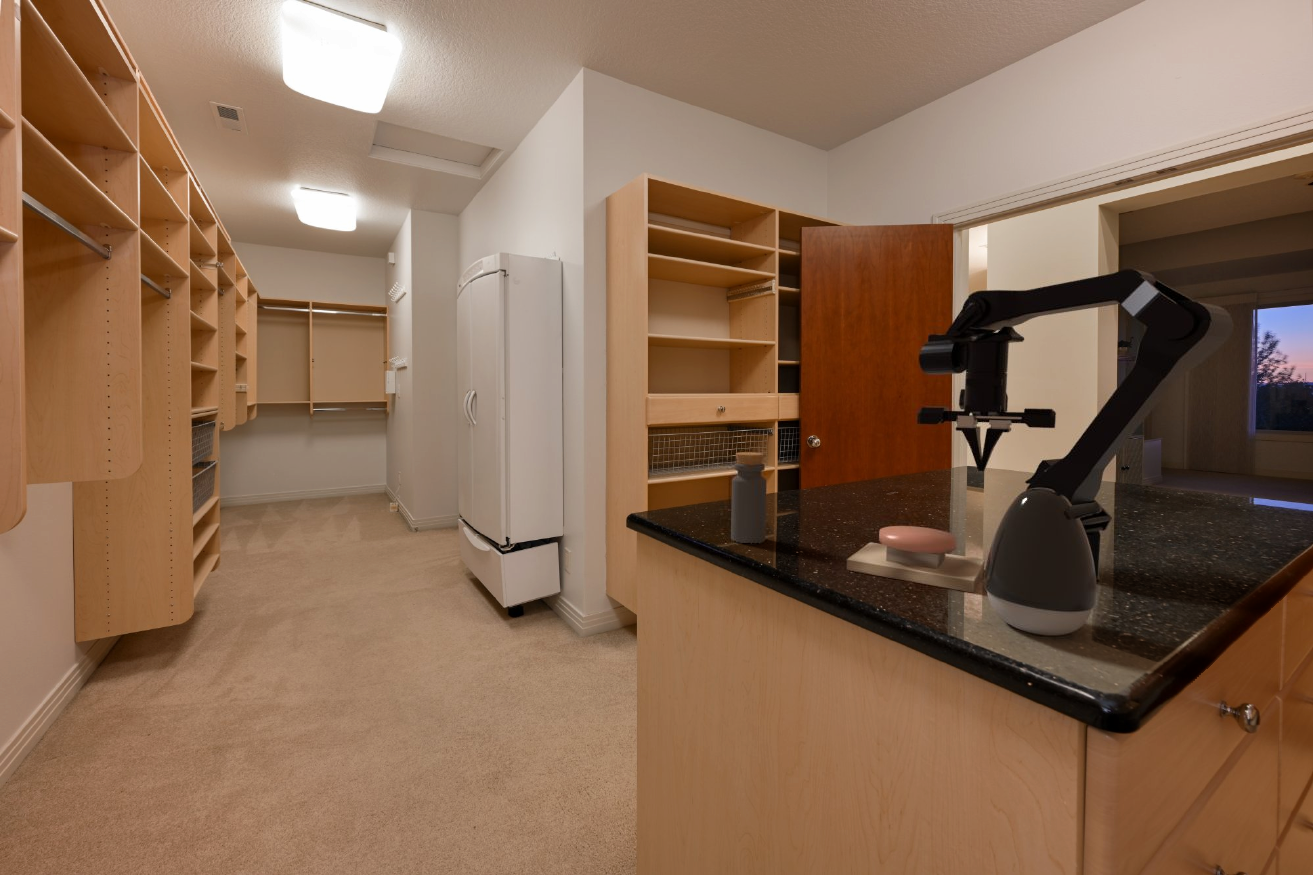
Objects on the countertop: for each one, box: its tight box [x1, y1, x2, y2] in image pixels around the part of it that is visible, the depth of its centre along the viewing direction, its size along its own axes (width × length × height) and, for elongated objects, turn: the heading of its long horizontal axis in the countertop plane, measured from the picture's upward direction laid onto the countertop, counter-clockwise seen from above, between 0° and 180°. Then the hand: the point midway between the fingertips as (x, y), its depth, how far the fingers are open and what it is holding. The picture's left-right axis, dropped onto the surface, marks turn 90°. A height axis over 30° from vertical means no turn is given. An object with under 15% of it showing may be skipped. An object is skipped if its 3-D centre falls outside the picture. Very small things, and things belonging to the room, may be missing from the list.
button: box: [878, 525, 957, 554], centre depth 82 cm, size 10×10×3 cm
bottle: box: [730, 451, 767, 545], centre depth 98 cm, size 6×6×15 cm
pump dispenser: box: [983, 488, 1103, 636], centre depth 62 cm, size 10×10×15 cm
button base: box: [846, 542, 986, 593], centre depth 82 cm, size 16×12×4 cm
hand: (981, 470), depth 92 cm, fingers closed
